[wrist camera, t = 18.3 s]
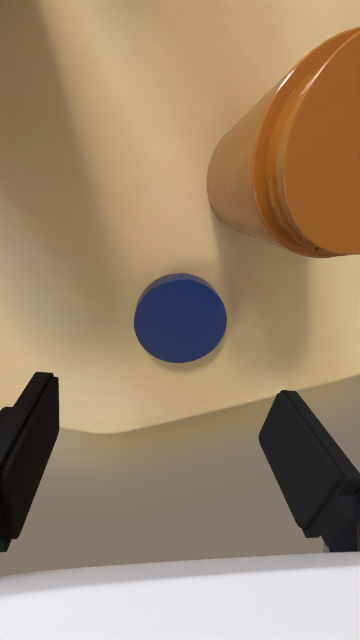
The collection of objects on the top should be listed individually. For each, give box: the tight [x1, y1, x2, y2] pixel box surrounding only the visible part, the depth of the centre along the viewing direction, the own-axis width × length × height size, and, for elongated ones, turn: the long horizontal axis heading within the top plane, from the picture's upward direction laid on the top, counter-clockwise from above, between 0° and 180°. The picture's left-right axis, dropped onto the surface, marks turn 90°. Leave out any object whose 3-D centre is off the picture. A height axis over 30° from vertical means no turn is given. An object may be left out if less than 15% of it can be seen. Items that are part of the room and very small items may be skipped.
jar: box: [207, 27, 360, 258], centre depth 11 cm, size 6×6×10 cm
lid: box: [134, 274, 227, 363], centre depth 19 cm, size 7×7×2 cm
